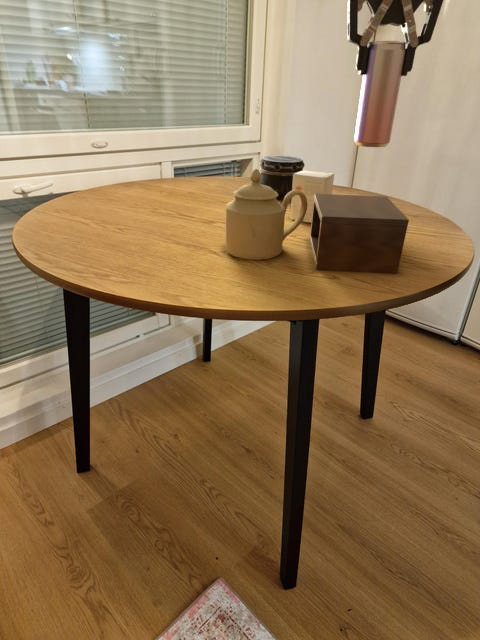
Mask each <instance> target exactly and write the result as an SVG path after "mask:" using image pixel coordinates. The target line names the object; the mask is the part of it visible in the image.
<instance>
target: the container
mask: <svg viewBox="0 0 480 640" xmlns="http://www.w3.org/2000/svg"><path fill="white" fill-rule="evenodd" d="M258 164H259V166H260V168H259V172H260V174H261V180H260V184H262V185H265V186H269V187H271V188H272V189H273V190H274V191H275V192H277V193H278V196H277V197H276V199H277V200H284V197H285V196H286V194H287V193H289V192H290V191H292V185H293V174H295V173H297V172H300V171H303V170H304V168H305V163H304V160H303V158H300V157H297V156H289V155H266V156H262V157H261V159H260V160H259V162H258ZM290 200H292V198H291V199H290Z"/></svg>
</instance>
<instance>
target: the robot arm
mask: <svg viewBox="0 0 480 640" xmlns="http://www.w3.org/2000/svg"><path fill="white" fill-rule="evenodd" d="M346 2H347V4H346V5H347V6H346V7H347V11H346V12H347V13H346V15H347V16H346V17H347V19H346V22H347V25H346V27H347V29H346V31H347V32H346V35H347V36H346V38H347V39H346V40H347V42H348V43H351V44H354V45H355V46H356V48H357V53H356V59H355V67H354V68H355V71H357V72H358V75H359V76H363V75H364V74H365V70H366V63H367V56H368V49H369V42H371V41H370V40H371V39H372V38H373V35H374V33H375V32H376V31H377V29H378V27H379V26H381V27H385V26H388V25H390V26H394V27H400V28H401V33H402V34H403V38H404V42H406V44H405V47H406V54H405V59H404V65H403V71H402V76H401V77H407V75H408V73H411V71H412V70H413V67H414V61H415V55H416V50H417V48H418V47H419V46H422V45H425V44H427V43H429V42H430V41H431V40H432V38H433V34H434V31H435V28H436V24H437V22H438V18H439V15H440V13H441V9H442V7H443V3H444V0H347V1H346ZM364 3H365V4H366V5H367V7H368V10H369V12H370V14H371V17H370V19H369V21H368V23H366V26H365V28H364V30H363V33H362V34H359V33H358V30H359V29H358V28H359V24H358V23H359V22H358V21H359V12H361V10H362V9H363V5H364ZM422 4H423V7H424V8H423V12H424V13H425V18H424V20H423V24H422V26H421V31H420V33H419V35H418V33H417V24H416V20H415V12H416V11H417V10H419V7H420V6H421V5H422Z"/></svg>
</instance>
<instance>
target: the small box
mask: <svg viewBox="0 0 480 640" xmlns="http://www.w3.org/2000/svg"><path fill="white" fill-rule="evenodd" d="M334 179H335V173H332V172H331V173H330V172H322V171H321V172H320V171H313V170H304V169H303V171H300V172H297V173H295V174H293V185H292V190H299V191H301V192H303V193H304V194H305V196H306V198H307V211H306V214H305V217H304V219H303V221H302V223H312V213H313V203H314V194H331V195H333V189H334V181H335V180H334ZM290 201H291V202H290V203H291V204H290V220H292V221H295V220H296V218H297V216H298V214H299V212H300V209H301V199H300V197H299V195H295V196H293V197H292V199H290Z"/></svg>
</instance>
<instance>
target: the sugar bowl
mask: <svg viewBox="0 0 480 640" xmlns="http://www.w3.org/2000/svg"><path fill="white" fill-rule="evenodd" d="M250 180H251V183H248V184H245V185H242V186H240V187H239V188H237V189H235V190H234V191H233V192H232V195H233V196H234V198H233V199H232V201H230V202H228V203H226V204H225V211H224V212H225V214H224V215H225V218H224V227H225V228H224V230H225V231H224V233H225V234H224V236H225V251H226V252H227V254H229V255H230V256H233V257H234V258H238V259H243V260H253V261H254V260H255V261H260V260H269V259H272V258H276V257H278V256H279V255H280V254H281V253H282V251H283V243H284V241H285V239H286V238H287V237H288V236H290V235H291V234H292V233H293V232H294V231H295V230H297V229H298V227H299V226H300V225H301V224H302V223H303V219H304V217H305V214H306V211H307V198H306V196H305V194H304V193H303V192H301V191H299V190H292V191H290V192H289V193H287V194H286V196H285V197H284V199H282V202H281V203H280V202H279V201H278V199H276V197H277V196H278V193H277V192H275V191H274V190H273V189H272V188H271V187H269V186H265V185H262V184H260V180H261V172H260V169H257V168H255V169H253V170H252V172H251V174H250ZM295 195H299V197H300V199H301V209H300V212H299V214H298V216H297V218H296V220H293V221H292V223H291V224H289V226H288V227H287V228H285V219H286V217H285V216H286V213H287V209H288V206H289V203H290V201H291V200H292V199H291V198H292V197H293V196H295Z"/></svg>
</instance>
